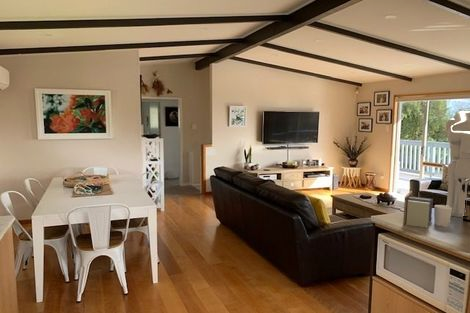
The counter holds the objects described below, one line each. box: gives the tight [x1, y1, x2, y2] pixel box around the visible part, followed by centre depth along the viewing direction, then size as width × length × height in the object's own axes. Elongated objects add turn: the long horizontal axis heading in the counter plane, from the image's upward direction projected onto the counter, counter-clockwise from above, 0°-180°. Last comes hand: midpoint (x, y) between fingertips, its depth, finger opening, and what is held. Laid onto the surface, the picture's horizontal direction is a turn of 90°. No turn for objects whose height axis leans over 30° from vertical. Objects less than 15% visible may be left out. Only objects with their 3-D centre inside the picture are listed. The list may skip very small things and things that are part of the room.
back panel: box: [402, 190, 413, 225], centre depth 192 cm, size 19×1×15 cm, turn 145°
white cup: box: [433, 204, 452, 228], centre depth 184 cm, size 8×8×10 cm
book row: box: [405, 196, 430, 229], centre depth 183 cm, size 6×10×14 cm, turn 55°
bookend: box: [412, 196, 433, 222], centre depth 196 cm, size 6×10×12 cm, turn 55°
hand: (465, 191), depth 177 cm, fingers closed
